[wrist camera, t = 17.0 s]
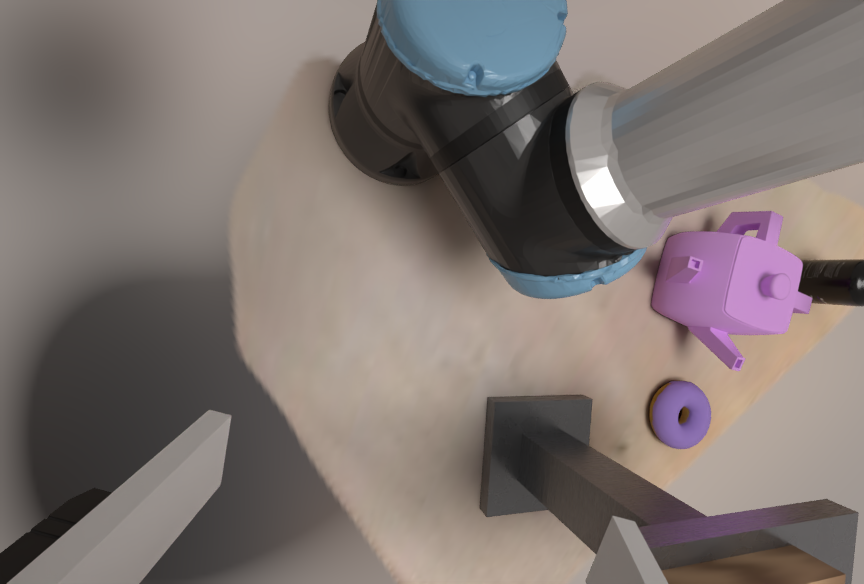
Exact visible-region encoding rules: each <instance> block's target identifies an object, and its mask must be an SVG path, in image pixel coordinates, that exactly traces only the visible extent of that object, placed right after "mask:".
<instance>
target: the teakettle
mask: <svg viewBox="0 0 864 584" xmlns="http://www.w3.org/2000/svg"><path fill="white" fill-rule="evenodd" d="M782 220H783V216H781V215H779V214H777V213H775V212H773V211H758V212H732V213H731V214H730V215H729V217H728V218H727V219H726V220H725V222H724V223H723V224H722V226H721V227H720V228H719V229H718V231H717V232H706V231H697V232H682V233H678V234H676V235H673V236H671V237H669V238H668V239H667V241H666V244H665V247H664V250H663V254H662V258H661V261H660V265H659V269H658V273H657V277H656V281H655V286H654V290H653V295H652V302H651V305H652V308H653V309H654V310H656V311H657V312H658V313H660V314H662V315H664V316H666V317H668V318H670V319H672V320H674V321H676V322H678V323H680V324H683V325H685V326H688V329H689V330H690V331H691V332H692V333H693V334H694V335H695V336H696V337H697V338H698V339H699V340H700V341H701V342H702V343H703V344H705V345H706V346H707V347H708V348H709V349H710V350H711V351H712V352H713V353H714V354H715V355H716V356H717V357H718V358H719V359H720V360H721V361H722V362H724V363H725V364H726V365H727V366H728V367H729V368H730V369H732V370H736V371H740V369H741V367H742V365H743V363H744V361H745V358H743V357H742V355H741V354H740V352H739V351H738V349H737V348H736V346H735V345H734V343H733V342H732V341H731V339H730V338H729V336H728V334H735V335H769V334H783V333H785V332H786V331H787V330H788V327H789V323H790V320H791V316H792V313H804V314H809V310H810V306H811V302H812V298H811V297H809V296H807V295H805V294H803V293H800V292H798V288H799V283H800V278H801V273H802V268H803V263H802V261H801V260H800V259H799V258H798V257H796V256H795V255H793V254H792V253H790V252H788V251H786V250H784V249H783V248H781V247H779V246H777V244H778V239H779V234H780V230H781V225H782ZM748 230H758V233H757V236H756V238H755V237H751V236H746V235H744V234H745V232H746V231H748Z"/></svg>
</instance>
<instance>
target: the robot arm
mask: <svg viewBox="0 0 864 584" xmlns="http://www.w3.org/2000/svg"><path fill="white" fill-rule="evenodd" d="M567 14H568V13H567V1H566V0H377V5H376V8H375V12H374V15H373V18H372V21H371V25H370V28H369V32H368V35H367V38H366V41H365V42H364V43H362V44H360V45H359V46H358V47H356V48H355V49H354V50H353V51H352V52H350V54H349V55H348V56H347V57H346V58H345V59H344V61H343V62H342V64H341V65H340V67H339V69H338V71H337V73H336V75H335V78H334V81H333V85H332V89H331V94H330V100H329V115H330V122H331V126H332V130H333V133H334V135H335V138H336V140H337V142H338V144H339V146H340V148H341V149H342V151H343V152H344V154H345V155H346V156H347V158H348V159H349V160H350V161H351V162H352V163H353V164H354V165H355V166H356V167H357V168H358V169H360V170H361V171H362V172H364V173H365V174H367V175H368V176H370V177H372V178H374V179H376V180H379V181H381V182H385V183H388V184H393V185H413V184H417V183H421V182H424V181H426V180H429V179H431V178H432V177H434V176H436V175H437V174H439V175H440V176H441V178H442V180H443V181H444V183H445V185H446V186H447V188H448V190H449V191H450V193H451V195H452V196H453V198H454V200H455V201H456V203H457V205H458V206H459V208H460V210H461V211H462V213H463V215H464V216H465V218H466V220H467V222H468V223H469V225H470V227H471V228H472V230H473V232H474V233H475V235H476V237H477V238H478V240H479V242H480V243H481V245H482V247H483V248H484V250H485V252H486V254H487V256H488V257H489V260H490V261H491V263H492V264H493V265H494V266H495V267H496V268H497V269H498V270H499V271H500V272H501V274H502V275H503V276H504V278H505V279H506V281H507V282H508V283H509V285H510V286H511V287H512V288H513V289H515V290H516V291H518V292H519V293H521V294H523V295H526V296H529V297H533V298H540V299H556V298H564V297H570V296H575V295H579V294H582V293H585V292H588V291H591V290H592V288H593V287H594V286H595V285H597V284H605V285H606V284H608V283H610V282H612V281H614V280H616V279H618V278H620V277H621V276H623V275H624V274H626V273H627V272H628V271H630V270H631V269H632V268H633V267H634V266H635V265H636V264H637V263H638V262H639V261H640V260H641V258H642V256H643V255H644V253H645V251H646V249H647V247H649V246H651V245H653V244H655V243H656V242H657V241H658V240H659V239H660V238H661V237H662V235H663V234H664V232H665V230H666V228H667V227H668V225H669V223H670V221H671V219H672V217H674V216H678V215H681V214H685V213H688V212H692V211H695V210H699V209H702V208H706V207H709V206H713V205H716V204H719V203H723V202H726V201H730V200H733V199H737V198H740V197H744V196H747V195H751V194H754V193H758V192H761V191H765V190H768V189H772V188H775V187H779V186H782V185H786V184H789V183H793V182H796V181H800V180H803V179H807V178H810V177H814V176H817V175H820V174H824V173H828V172H831V171H835V170H838V169H842V168H845V167H849V166H852V165H855V164H859V163H862V162H864V0H783V1H782V2H780V3H778V4H776V5H775V6H773V7H771V8H769V9H768V10H766V11H764V12H762V13H761V14H759V15H757V16H755V17H754V18H752V19H750V20H748V21H747V22H745V23H743V24H741V25H740V26H738V27H737V28H735V29H733V30H731V31H729V32H728V33H726V34H724V35H722V36H721V37H719V38H717V39H716V40H714V41H712V42H710V43H708V44H707V45H705V46H703V47H701V48H700V49H698V50H696V51H694V52H693V53H691V54H689V55H687V56H686V57H684V58H682V59H681V60H679V61H677V62H675V63H674V64H672V65H670V66H668V67H667V68H665V69H663V70H661V71H660V72H658V73H656V74H654V75H653V76H651V77H649V78H648V79H646V80H644V81H642V82H640V83H639V84H637V85H635V86H633V87H632V88H630V89H625V88H622V87H619V86H616V85H613V84H611V83H606V82H596V83H593V84H590V85H588V86H586V87H584V88H582V89H581V90H580V91H578V92H577V93H575V94H573V92H572V90H571V88H570V86H569V84H568V82H567V81H566V79H565V77H564V75H563V73H562V71H561V69H560V67H559V65H558V63H557V61H556V57H557V56H558V54H559V51H560V49H561V47H562V44H563V41H564V38H565V35H566V27H565V26H564V25H563V23H564V19H565V18H566V17H567ZM568 86H569V87H568ZM565 88H566V89H565ZM448 166H449V167H448ZM230 422H231V415H228V414H224V413H220V412H216V411H212V410H208V411H207V412H206V413H205V414H204V415H203V416H201V417H200V418H199V419H198V420H197V421H196V422H194V423H193V424H192V425H191V426H190V427H189V428H187V429H186V430H185V431H184V432H183V433H182V434H180V435H179V436H178V437H177V438H176V439H175V440H173V441H172V442H171V443H170V444H169V445H168V446H166V447H165V448H164V449H163V450H162V451H161V452H159V453H158V454H157V455H156V456H155V457H154V458H152V459H151V460H150V461H149V462H148V463H147V464H145V466H143V467H142V468H141V469H140V470H138V471H137V472H136V473H135V474H134V475H133V476H131V477H130V478H129V479H128V480H127V481H126V482H124V484H122V485H121V486H120V487H119V488H117V489H116V490H115V491H114V492H113V493H111V492H107V491H104V490H100V489H96V488H93V489H91V490H89V491H87V492H85V493H83V494H80V495H78V496H76V497H74V498H72V499H70V500H68V501H67V502H66V503H64V504H63V505H62V506H60V507H59V508H58V509H57V510H55V511H54V512H53V513H52V514H50V515H49V517H48V518H47V519H44V520H43V521H41V522H40V523H39V524H37V525H36V526H35V527H33V528H32V529H31V531H30V532H29V533H26V534H24V536H22V537H21V538H19V539H18V540H17V541H16V542H15V543H13V544H12V545H11V546H9V547H8V548H7V549H5V550H4V551H3V552H1V553H0V584H139V583H140V582H141V581H142V579H143V578H144V577H145V576H146V575H147V573H148V572H149V571H150V570H151V569H152V567H153V566H154V565H155V564H156V562H157V561H158V560H159V559H160V558H161V556H162V555H163V554H164V553H165V552H166V550H167V549H168V548H169V547H170V546H171V544H172V543H173V542H174V540H175V539H176V538H177V537H178V536H179V535H180V533H181V532H182V531H183V530H184V528H185V527H186V526H187V525H188V524H189V522H190V521H191V520H192V519H193V518H194V516H195V515H196V514H197V513H198V512H199V510H200V509H201V508H202V507H203V505H204V504H205V503H206V502H207V501H208V499H209V498H210V497H211V496H212V495H213V493H214V492H215V491H216V490H217V489H218V487H219V486H220V485H221V478H222V473H223V466H224V460H225V453H226V447H227V441H228V434H229V428H230ZM586 584H668V582H667V580H666V578H665V577H664V575H663V573H662V571H661V569H660V567H659V565H658V564H657V562H656V560H655V558H654V556H653V554H652V552H651V551H650V549H649V547H648V545H647V543H646V541H645V539H644V538H643V536H642V534H641V532H640V530H639V528H638V526H637V525H636V523H635V521H631V520H627V519H624V518H620V517H616V516H612V518H611V520H610V523H609V525H608V528H607V530H606V533H605V535H604V537H603V540H602V542H601V545H600V547H599V549H598V552H597V554H596V557H595V559H594V562H593V564H592V566H591V569H590V571H589V574H588V576H587V578H586Z"/></svg>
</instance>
